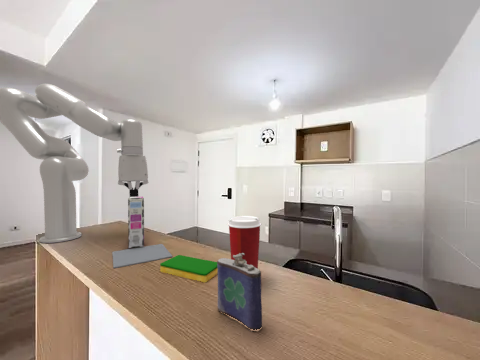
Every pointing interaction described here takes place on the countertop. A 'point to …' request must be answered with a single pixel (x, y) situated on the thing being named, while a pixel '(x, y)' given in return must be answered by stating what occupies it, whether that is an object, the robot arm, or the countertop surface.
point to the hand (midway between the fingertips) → (134, 199)
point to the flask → (240, 291)
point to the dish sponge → (190, 268)
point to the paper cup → (245, 238)
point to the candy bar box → (135, 222)
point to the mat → (139, 255)
